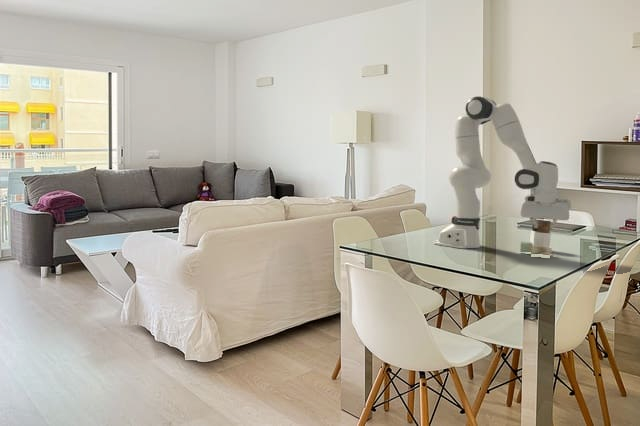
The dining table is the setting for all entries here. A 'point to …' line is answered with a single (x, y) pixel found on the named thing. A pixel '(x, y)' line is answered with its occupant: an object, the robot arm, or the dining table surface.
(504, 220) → the dining table surface
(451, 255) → the dining table surface
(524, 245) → the sage cube
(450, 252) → the dining table surface
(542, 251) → the maple slab
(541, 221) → the walnut cube
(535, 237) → the jar
